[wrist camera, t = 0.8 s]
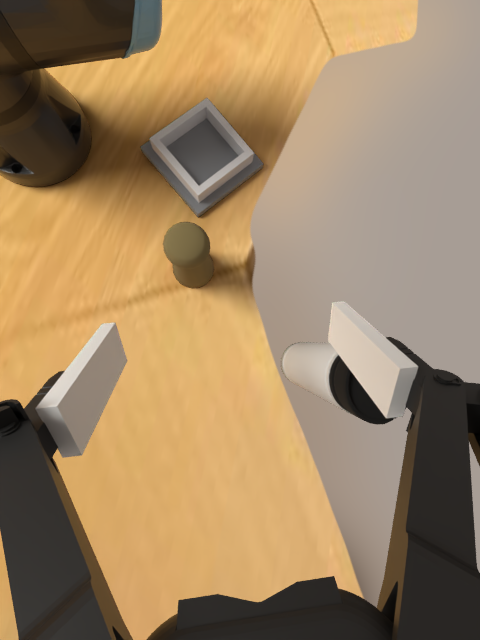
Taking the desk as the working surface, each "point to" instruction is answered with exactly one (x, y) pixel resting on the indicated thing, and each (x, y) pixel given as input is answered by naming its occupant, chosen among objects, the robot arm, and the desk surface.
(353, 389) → the travel mug
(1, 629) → the desk surface
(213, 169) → the grey square tray
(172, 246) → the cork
